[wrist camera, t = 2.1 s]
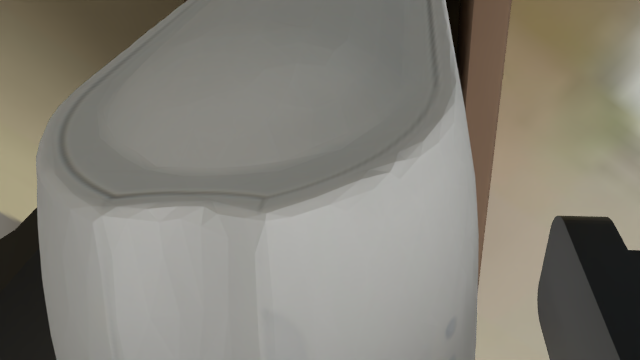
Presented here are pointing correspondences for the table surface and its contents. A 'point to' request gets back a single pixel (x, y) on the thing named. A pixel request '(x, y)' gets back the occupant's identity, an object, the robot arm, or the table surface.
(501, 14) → the brown wooden tray
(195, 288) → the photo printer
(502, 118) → the table surface
